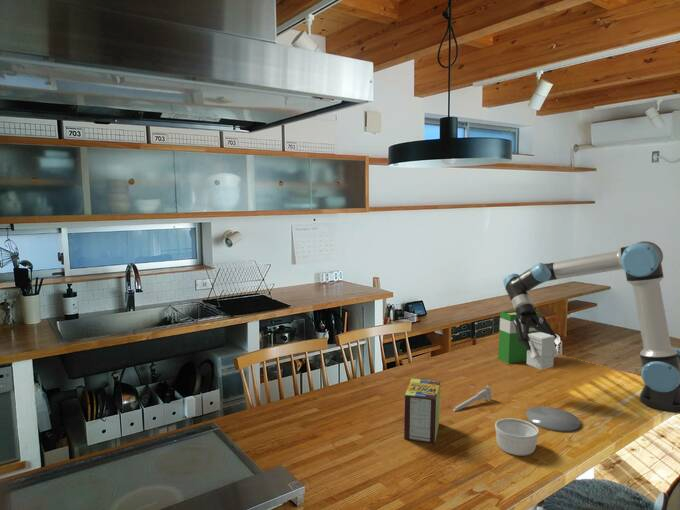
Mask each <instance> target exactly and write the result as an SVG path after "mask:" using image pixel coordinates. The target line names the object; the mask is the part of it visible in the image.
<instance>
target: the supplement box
mask: <svg viewBox="0 0 680 510" xmlns="http://www.w3.org/2000/svg"><path fill="white" fill-rule="evenodd" d="M528 336H529V337H528V341H531V343H532V345H533V347H534V350H535V352H536V354H537V356H536V357H535V358H534V359H532V358H531V355H530V353H529V350H527V361H526V365H528V366H530V367H533V368H536V369H538V370H544V369H548V368H549V369H550V368H553V367H554V361H555V360H554V359H555V357H554V342H555V340H556V339H555V336H553V335H550V334H546V333H543V332H539V331H538V332H536V333H531V334H528ZM555 343H556V342H555Z"/></svg>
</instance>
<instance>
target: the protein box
mask: <svg viewBox="0 0 680 510" xmlns="http://www.w3.org/2000/svg"><path fill="white" fill-rule="evenodd" d="M440 409H441V381H438V380H437V381H436V380H428V379H419V378H410V381H409V384H408V386H407V389H406V391H405V394H404V420H403V421H404V422H403V423H404V427H403V428H404V429H403V431H404V432H403V433H404V434H403V439H404V440H410V441H411V440H412V441H417V442H422V443H423V442H424V443H431V444H436V440H437V437H438V436H437V435H438V430H439V425H440V414H441V413H440Z"/></svg>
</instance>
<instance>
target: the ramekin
mask: <svg viewBox="0 0 680 510" xmlns="http://www.w3.org/2000/svg"><path fill="white" fill-rule="evenodd" d="M494 425H495V426H494V429H495V438H496V444H497V446H498V447H499V448H500V450H502V451H503V452H505V453H507V454H510V455H514V456H518V457H520V456H521V457H522V456H530V455H531V454H532V453H534V452H535V450H536V447H537V443H538V437H539V435H540V431H539V428H538V426H536V425H534V424H532V423H531V422H529V421H527V420H524V419H519V418H512V417H511V418H510V417H507V418H500V419H498V420H496V421H495V424H494Z"/></svg>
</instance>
